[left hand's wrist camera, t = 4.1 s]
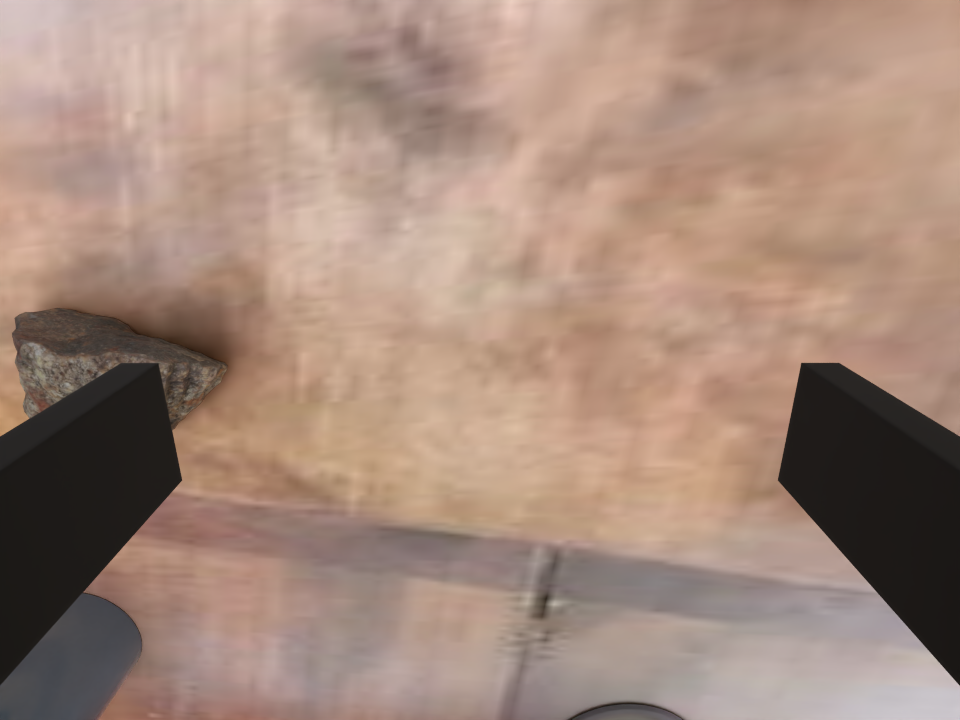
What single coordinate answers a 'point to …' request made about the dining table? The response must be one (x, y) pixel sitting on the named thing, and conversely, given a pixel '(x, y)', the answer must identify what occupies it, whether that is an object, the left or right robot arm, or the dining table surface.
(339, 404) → the dining table surface
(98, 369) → the rock
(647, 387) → the dining table surface
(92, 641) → the jar
